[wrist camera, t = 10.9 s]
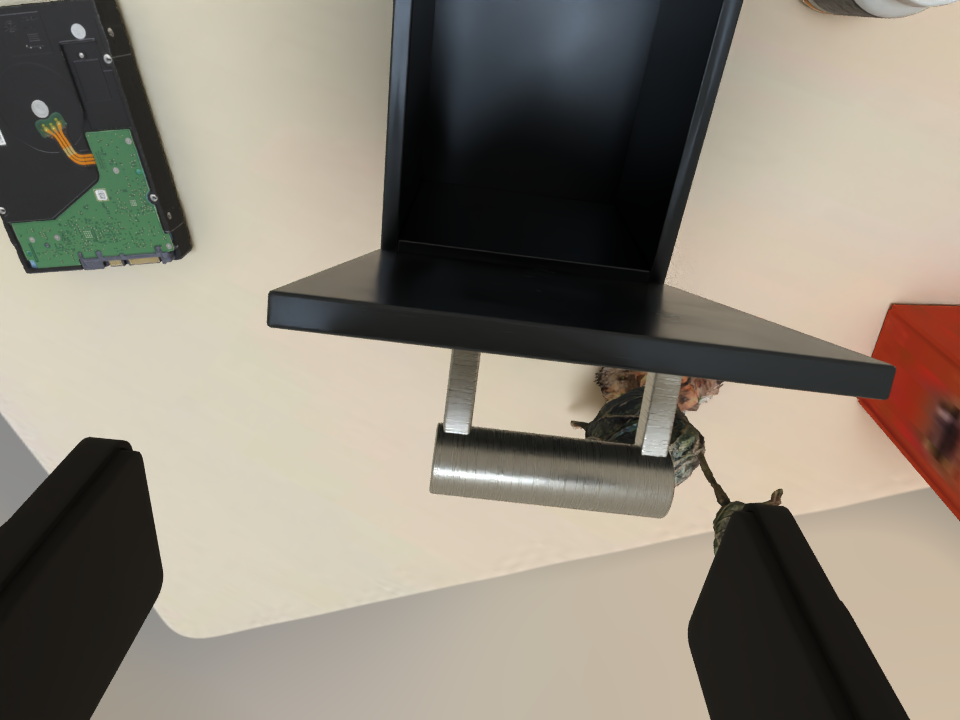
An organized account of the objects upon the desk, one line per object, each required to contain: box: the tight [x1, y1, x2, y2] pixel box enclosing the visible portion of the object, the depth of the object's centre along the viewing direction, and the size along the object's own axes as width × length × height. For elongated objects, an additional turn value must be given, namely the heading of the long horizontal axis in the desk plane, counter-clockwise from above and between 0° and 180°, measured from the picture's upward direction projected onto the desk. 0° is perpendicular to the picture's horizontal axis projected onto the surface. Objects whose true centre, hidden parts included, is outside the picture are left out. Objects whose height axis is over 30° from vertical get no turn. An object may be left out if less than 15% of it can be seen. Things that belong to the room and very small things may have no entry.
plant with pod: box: [571, 367, 783, 555], centre depth 39 cm, size 8×11×20 cm
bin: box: [381, 0, 743, 284], centre depth 33 cm, size 17×14×12 cm
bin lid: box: [267, 249, 896, 518], centre depth 23 cm, size 17×14×5 cm
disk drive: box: [0, 0, 192, 274], centre depth 39 cm, size 10×3×15 cm
